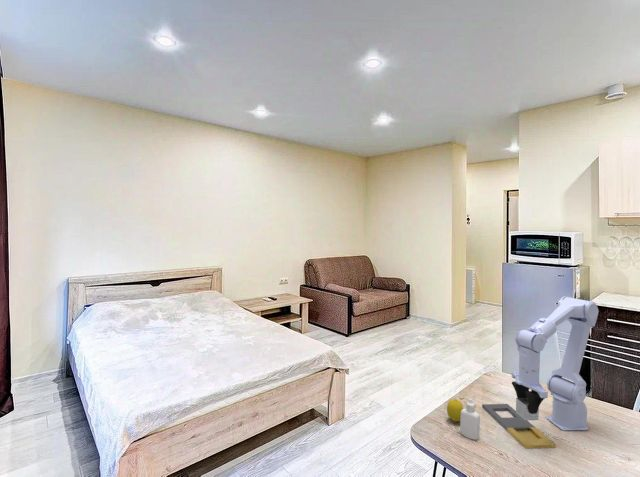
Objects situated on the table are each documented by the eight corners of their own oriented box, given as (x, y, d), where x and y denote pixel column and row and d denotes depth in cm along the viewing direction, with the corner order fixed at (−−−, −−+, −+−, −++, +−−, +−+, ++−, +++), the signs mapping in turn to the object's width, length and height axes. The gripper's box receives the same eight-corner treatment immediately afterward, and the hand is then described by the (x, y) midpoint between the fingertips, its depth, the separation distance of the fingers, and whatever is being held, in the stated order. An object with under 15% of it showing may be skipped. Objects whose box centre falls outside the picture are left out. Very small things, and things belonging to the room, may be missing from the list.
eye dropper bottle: (468, 429, 112) (469, 394, 112) (481, 439, 107) (482, 402, 107) (458, 431, 111) (459, 396, 111) (470, 442, 106) (471, 404, 105)
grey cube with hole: (528, 412, 112) (529, 397, 112) (538, 420, 107) (538, 404, 107) (515, 412, 111) (516, 397, 111) (525, 420, 107) (525, 404, 107)
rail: (507, 406, 128) (507, 403, 128) (555, 447, 104) (555, 444, 104) (482, 407, 127) (482, 404, 127) (525, 448, 103) (525, 445, 103)
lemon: (465, 427, 114) (465, 404, 113) (448, 425, 115) (448, 402, 114) (461, 418, 119) (462, 396, 119) (445, 416, 120) (445, 394, 120)
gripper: (503, 359, 116) (502, 397, 116) (532, 377, 101) (531, 421, 102) (523, 359, 116) (521, 397, 117) (554, 377, 102) (553, 421, 102)
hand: (527, 408), depth 109 cm, fingers closed on grey cube with hole, 4 cm apart
